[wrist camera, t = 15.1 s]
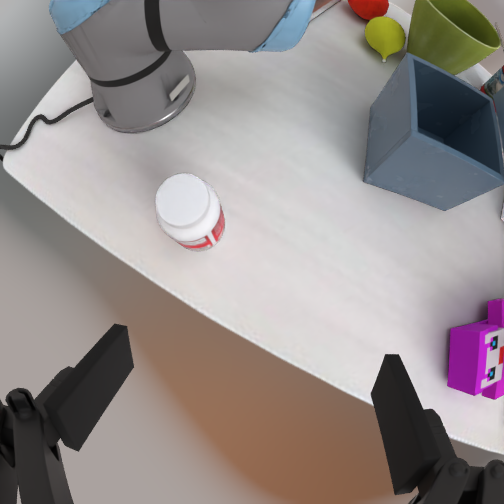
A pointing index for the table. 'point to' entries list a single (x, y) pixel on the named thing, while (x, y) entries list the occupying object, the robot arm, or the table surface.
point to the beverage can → (493, 84)
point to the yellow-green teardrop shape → (385, 36)
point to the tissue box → (503, 216)
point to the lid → (500, 111)
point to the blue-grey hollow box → (433, 137)
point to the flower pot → (450, 34)
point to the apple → (369, 8)
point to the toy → (479, 354)
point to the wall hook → (499, 86)
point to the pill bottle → (190, 212)
